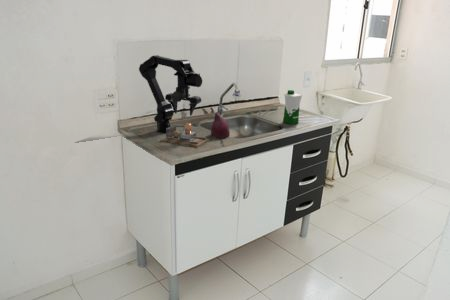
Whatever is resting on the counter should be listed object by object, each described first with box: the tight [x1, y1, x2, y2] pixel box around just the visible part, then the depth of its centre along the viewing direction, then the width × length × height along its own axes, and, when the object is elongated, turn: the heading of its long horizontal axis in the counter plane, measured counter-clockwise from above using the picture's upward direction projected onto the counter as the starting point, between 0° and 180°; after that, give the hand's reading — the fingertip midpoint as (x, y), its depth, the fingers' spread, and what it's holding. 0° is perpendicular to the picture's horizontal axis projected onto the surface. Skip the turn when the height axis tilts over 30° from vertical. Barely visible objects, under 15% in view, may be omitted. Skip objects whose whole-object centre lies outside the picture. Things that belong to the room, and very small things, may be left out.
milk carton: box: [282, 89, 303, 126], centre depth 228 cm, size 9×9×20 cm
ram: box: [179, 122, 197, 141], centre depth 186 cm, size 7×6×8 cm
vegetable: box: [210, 111, 231, 139], centre depth 197 cm, size 10×10×15 cm
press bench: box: [163, 125, 210, 149], centre depth 188 cm, size 20×12×6 cm, turn 66°
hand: (183, 114), depth 193 cm, fingers open, 9 cm apart
